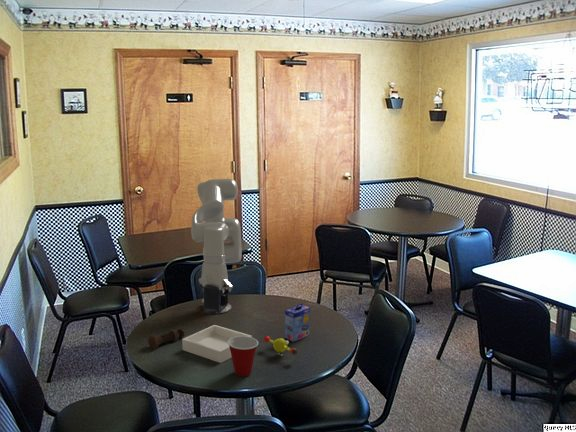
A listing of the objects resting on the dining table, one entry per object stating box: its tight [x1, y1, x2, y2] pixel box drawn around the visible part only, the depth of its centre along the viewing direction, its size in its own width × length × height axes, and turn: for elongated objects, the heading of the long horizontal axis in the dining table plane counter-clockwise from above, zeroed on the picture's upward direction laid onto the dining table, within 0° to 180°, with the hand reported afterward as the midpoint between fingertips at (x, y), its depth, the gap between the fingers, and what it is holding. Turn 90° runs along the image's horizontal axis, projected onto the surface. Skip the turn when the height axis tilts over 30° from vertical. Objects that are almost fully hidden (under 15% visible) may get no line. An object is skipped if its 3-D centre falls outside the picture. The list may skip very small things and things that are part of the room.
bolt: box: [147, 328, 186, 350], centre depth 234 cm, size 6×5×15 cm
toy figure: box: [263, 335, 298, 357], centre depth 220 cm, size 18×6×7 cm, turn 42°
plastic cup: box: [228, 336, 259, 377], centre depth 206 cm, size 11×11×12 cm
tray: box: [181, 324, 253, 364], centre depth 228 cm, size 20×18×4 cm
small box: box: [202, 285, 229, 315], centre depth 224 cm, size 11×6×10 cm, turn 167°
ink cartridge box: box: [284, 302, 311, 342], centre depth 237 cm, size 10×6×14 cm, turn 137°
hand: (216, 302), depth 224 cm, fingers closed on small box, 8 cm apart
